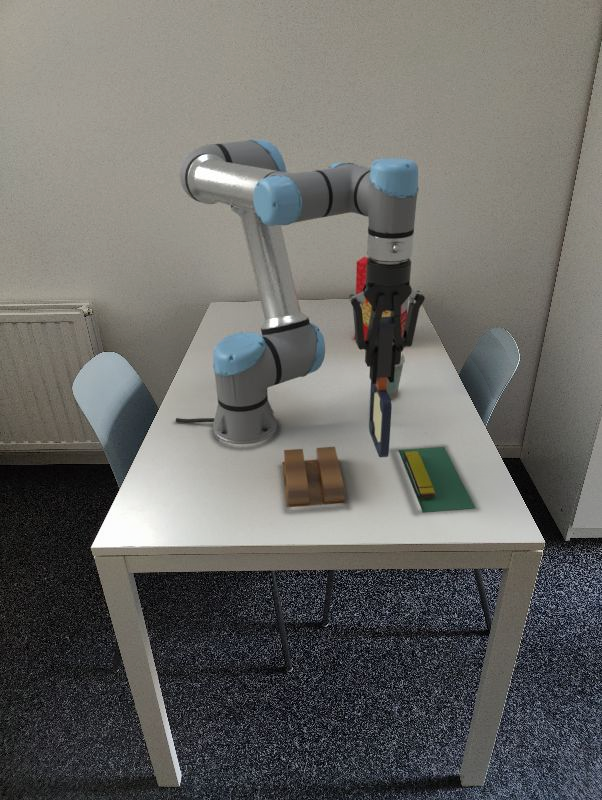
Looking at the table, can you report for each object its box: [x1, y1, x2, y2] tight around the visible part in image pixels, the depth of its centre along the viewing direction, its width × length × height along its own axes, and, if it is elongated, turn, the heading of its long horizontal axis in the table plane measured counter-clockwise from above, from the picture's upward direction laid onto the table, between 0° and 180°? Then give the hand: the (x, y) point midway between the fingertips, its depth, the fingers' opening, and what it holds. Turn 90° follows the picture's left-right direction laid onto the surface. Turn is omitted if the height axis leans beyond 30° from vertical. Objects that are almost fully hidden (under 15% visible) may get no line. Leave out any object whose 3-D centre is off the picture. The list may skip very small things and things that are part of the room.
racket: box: [368, 316, 395, 458], centre depth 112 cm, size 11×3×27 cm, turn 6°
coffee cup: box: [387, 351, 406, 400], centre depth 152 cm, size 9×8×12 cm
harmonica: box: [404, 451, 435, 498], centre depth 123 cm, size 15×3×2 cm, turn 4°
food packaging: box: [354, 256, 409, 341], centre depth 177 cm, size 15×5×25 cm, turn 60°
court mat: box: [397, 446, 476, 513], centre depth 124 cm, size 12×21×1 cm, turn 5°
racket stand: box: [281, 446, 348, 508], centre depth 121 cm, size 15×12×5 cm
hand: (381, 379), depth 111 cm, fingers closed on racket, 3 cm apart
